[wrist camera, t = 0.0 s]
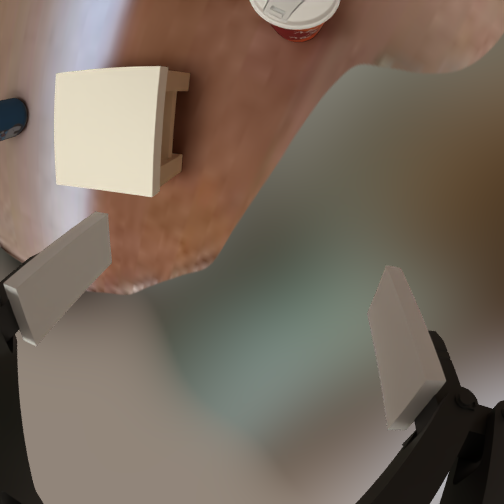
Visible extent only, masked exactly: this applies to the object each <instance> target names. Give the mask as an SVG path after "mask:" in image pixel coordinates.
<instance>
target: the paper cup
mask: <svg viewBox="0 0 504 504" xmlns="http://www.w3.org/2000/svg"><path fill="white" fill-rule="evenodd" d="M250 2H251V4H252V7H253V8H254V10H255V11H256V12H257V13H258V14H259V15H260V16H261V17H262V18H263V19H264V20H266V21H267V22H269V23H270V24H271V25H272V27H273V28H274V29H275V30H276V31H277V32H278V34H279V35H281V36H282V37H283V38H285V39H287V40H289V41H293V42H303V41H307V40H309V39H311V38H313V37H314V36H315V35H316V34H317V33H318V32H319V30H320V29H321V27H322V26H323V24H324V22H325V21H327V20H328V19H329V18H331V17H332V16H333V14H334V13H335V12H336V10H337V8H338V6H339V3H340V0H250Z"/></svg>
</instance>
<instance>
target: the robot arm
mask: <svg viewBox="0 0 504 504" xmlns="http://www.w3.org/2000/svg"><path fill="white" fill-rule="evenodd" d="M111 263H112V259H111V249H110V237H109V224H108V214H106V213H100V212H94V213H93V214H91V215H90V216H89V217H87V218H86V219H84V220H83V221H81V222H80V223H79V224H77V225H76V226H75V227H73V228H72V229H70V230H69V231H68V232H66V233H65V234H64V235H62V236H61V237H60V238H58V239H57V240H56V241H54V242H53V243H52V244H51V245H49V246H48V247H47V248H45V249H44V250H43V251H42V252H40V253H38V254H36V255H34V256H32V257H30V258H29V259H27V260H26V261H25V262H24V263H22V265H20V266H19V267H18V268H17V269H16V270H14V271H13V272H12V273H10V274H9V275H8V276H7V277H6V278H5V279H3V280H2V281H1V282H0V504H43V502H42V500H41V499H40V497H39V496H38V494H37V492H36V490H35V488H34V484H33V480H32V476H31V472H30V467H29V462H28V457H27V451H26V446H25V440H24V433H23V426H22V418H21V409H20V399H19V386H18V368H17V367H18V366H17V339H16V336H15V333H16V332H17V331H18V330H20V332H21V334H22V337H23V339H24V340H25V341H27V342H29V343H31V344H33V345H35V346H37V345H38V344H39V343H40V342H41V341H42V339H43V338H44V337H45V336H46V335H47V333H48V332H49V331H50V330H51V329H52V328H53V326H54V325H55V324H56V323H57V322H58V321H59V320H60V318H61V317H62V316H63V315H64V314H65V313H66V311H67V310H68V309H69V308H70V307H71V305H73V304H74V303H75V301H76V300H77V299H78V298H79V297H80V296H81V295H82V294H83V293H84V292H85V291H86V289H87V288H88V287H89V286H90V285H91V284H92V283H93V282H94V281H95V280H96V279H97V278H98V277H99V276H100V275H101V273H102V272H103V271H104V270H105V269H106V268H107V267H108V266H109V265H110V264H111ZM367 315H368V320H369V324H370V329H371V334H372V338H373V344H374V348H375V354H376V359H377V365H378V371H379V376H380V382H381V388H382V395H383V401H384V408H385V415H386V422H387V429H388V430H406V429H407V428H408V427H409V426H410V425H411V424H412V423H413V422H414V421H415V426H416V430H415V431H414V433H413V434H412V435H411V436H410V437H409V438H408V439H407V440H406V441H405V442H404V443H403V444H402V445H403V448H402V449H401V450H400V451H399V453H398V454H397V456H396V457H395V458H394V459H393V461H392V462H391V463H390V464H389V466H388V467H387V468H386V470H385V471H384V472H383V473H382V474H381V476H380V477H379V478H378V479H377V480H376V481H375V483H374V484H373V485H372V486H371V487H370V488H369V490H368V491H367V492H366V493H365V494H364V495H363V496H362V497H361V498H360V500H359V501H358V502H357V503H356V504H430V502H431V501H432V499H433V498H434V496H435V495H436V493H437V491H438V489H439V488H440V486H441V485H442V483H443V481H444V479H445V477H446V476H447V474H448V472H449V474H448V478H447V481H446V485H445V488H444V491H443V494H442V498H441V501H440V504H504V401H500V402H499V403H498V404H497V405H496V406H495V407H494V408H493V409H492V408H488V407H485V406H482V405H479V404H478V402H477V399H476V397H475V396H474V394H473V393H472V392H471V391H469V390H468V389H466V388H464V387H461V386H460V383H459V380H458V377H457V374H456V372H455V369H454V366H453V364H452V361H451V360H450V356H449V353H448V352H447V349H446V346H445V343H444V341H443V340H442V338H441V337H440V336H439V335H438V334H437V333H436V332H435V331H428V329H427V327H426V324H425V322H424V320H423V317H422V315H421V313H420V310H419V308H418V306H417V303H416V301H415V298H414V296H413V294H412V291H411V289H410V287H409V285H408V282H407V280H406V278H405V276H404V274H403V271H402V269H401V268H398V267H393V266H387V265H386V267H385V269H384V272H383V275H382V277H381V280H380V283H379V285H378V288H377V290H376V293H375V295H374V298H373V301H372V303H371V305H370V308H369V310H368V313H367Z"/></svg>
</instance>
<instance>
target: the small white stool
mask: <svg viewBox="0 0 504 504" xmlns="http://www.w3.org/2000/svg"><path fill="white" fill-rule="evenodd" d="M189 80H190V73H185V72H178V71H170V70H168V67H163V66H140V67H117V68H102V69H91V70H81V71H72V72H65V73H57V74H56V84H55V108H54V144H55V168H56V183H57V184H58V185H66V186H74V187H82V188H90V189H97V190H105V191H112V192H120V193H127V194H134V195H141V196H147V197H153V196H154V195H156V194H157V193H158V192H160V186H162V185H163V184H164V183H166V182H167V181H169V180H170V179H171V178H173V177H174V176H176V175H177V174H179V173H180V172H181V170H182V155H183V154H175V153H172V144H173V131H174V118H175V107H176V97H177V91H188V89H189Z"/></svg>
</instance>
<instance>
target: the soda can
mask: <svg viewBox="0 0 504 504" xmlns="http://www.w3.org/2000/svg"><path fill="white" fill-rule="evenodd" d="M26 121H27V109H26V106H25V105H24V103H23V102H21V101H20V100H18V99H16V98H11V99H6V100H1V101H0V141H2V140H5V139H8V138H11V137H14V136H16V135H18V134H19V133H20V132H21V131H22V129H23V128H24V126H25V124H26Z"/></svg>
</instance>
